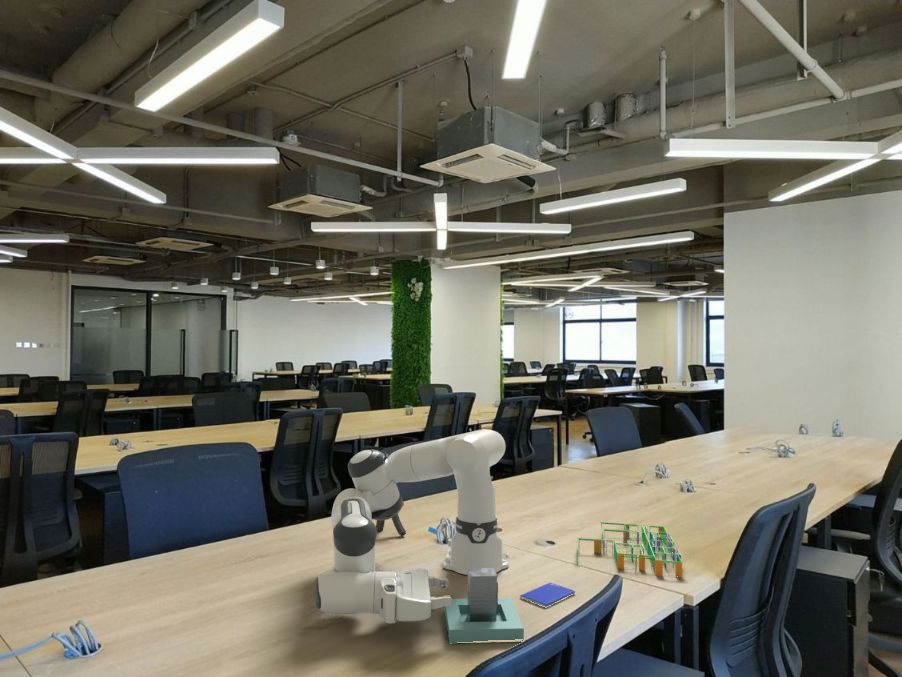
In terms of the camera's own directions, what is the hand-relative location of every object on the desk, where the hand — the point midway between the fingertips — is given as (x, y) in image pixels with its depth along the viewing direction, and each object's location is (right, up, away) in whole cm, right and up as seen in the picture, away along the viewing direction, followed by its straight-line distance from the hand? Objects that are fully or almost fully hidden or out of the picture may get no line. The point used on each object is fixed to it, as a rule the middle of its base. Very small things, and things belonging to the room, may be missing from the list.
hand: (449, 591), depth 137 cm
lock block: (+7, -7, +1) cm, 10 cm away
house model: (+54, -10, +52) cm, 76 cm away
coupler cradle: (+7, -8, +1) cm, 11 cm away
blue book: (+25, -9, +18) cm, 32 cm away
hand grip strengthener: (-20, -9, +69) cm, 72 cm away
